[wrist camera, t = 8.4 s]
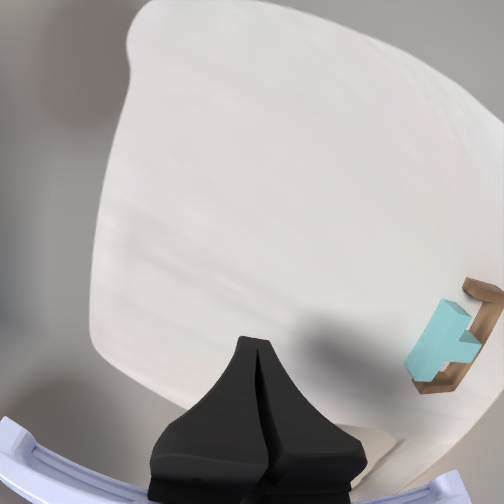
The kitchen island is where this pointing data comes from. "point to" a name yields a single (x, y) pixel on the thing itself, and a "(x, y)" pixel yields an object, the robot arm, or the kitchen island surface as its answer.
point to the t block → (443, 342)
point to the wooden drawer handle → (480, 329)
